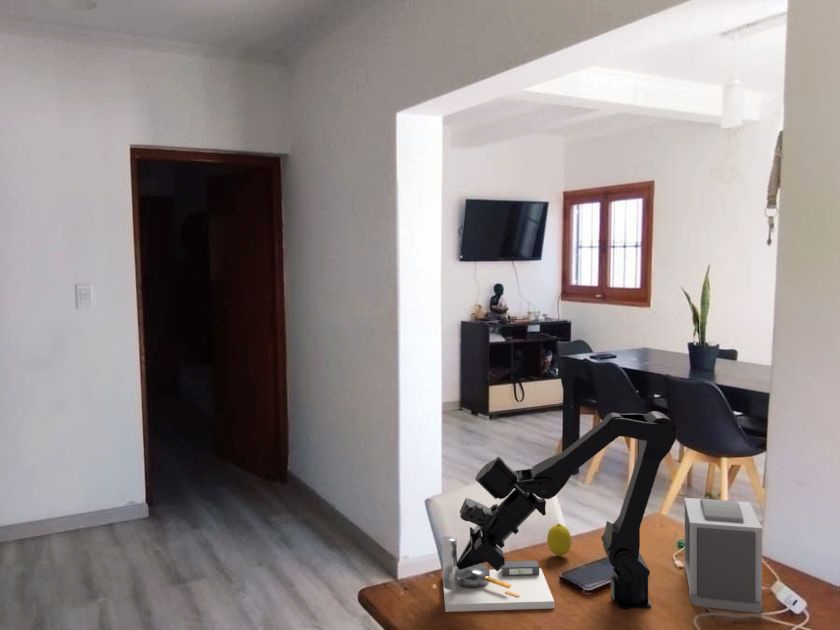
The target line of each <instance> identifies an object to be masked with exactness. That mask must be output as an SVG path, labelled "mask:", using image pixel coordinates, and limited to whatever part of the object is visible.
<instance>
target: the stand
mask: <svg viewBox="0 0 840 630" xmlns="http://www.w3.org/2000/svg"><path fill="white" fill-rule="evenodd" d="M489 572H490V577H491V578H494V579H497V580H499V581H502V582H505V583H508V584H511V587H510V588H509V589H508V588H505V587H502V586H500V585H497V584H494V583H491V582H489V583H488V584H486V585H485V586H482V587H478V588H465V587H461V586H458V587H457V588H455V589H446V588H444V587H443V597H444V609H445V613H446V612H450V613H451V612H478V611H483V612H485V611H509V610H510V611H512V610H514V611H516V610H542V609H546V610H547V609H555V600H554V597H553V595H552V592H551V590H550V587H549V585H548V582H547V580H546V577H545V575H544V572H543V570H542V568H541V567H540V565H539V563H538V560H517V561H515V560H512V561H510V560H509V561H505V565H504V566H503V567H502V568H501V569H500V570H499V571H496V570H495V569H489Z"/></svg>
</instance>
